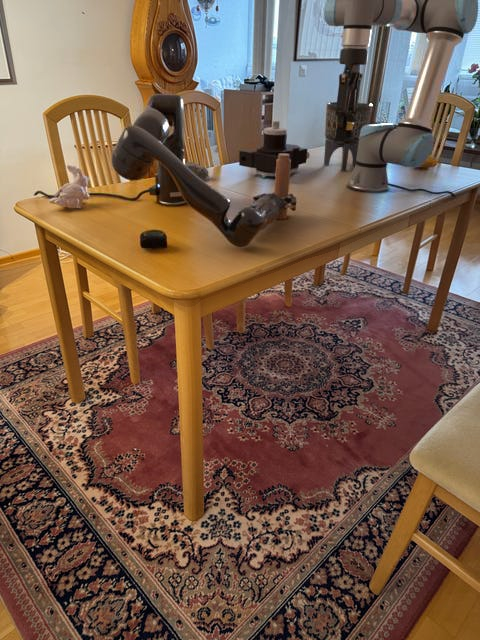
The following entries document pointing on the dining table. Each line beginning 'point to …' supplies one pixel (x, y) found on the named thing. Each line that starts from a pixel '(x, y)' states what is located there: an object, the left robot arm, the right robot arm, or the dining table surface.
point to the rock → (197, 170)
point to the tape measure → (153, 239)
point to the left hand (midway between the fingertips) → (283, 195)
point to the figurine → (72, 190)
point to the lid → (349, 126)
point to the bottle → (282, 178)
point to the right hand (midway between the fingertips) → (343, 138)
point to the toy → (429, 163)
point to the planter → (347, 144)
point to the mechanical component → (273, 152)
